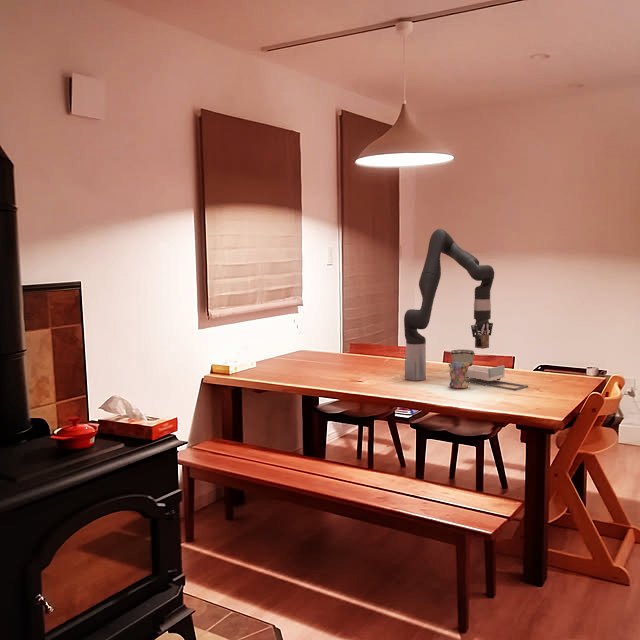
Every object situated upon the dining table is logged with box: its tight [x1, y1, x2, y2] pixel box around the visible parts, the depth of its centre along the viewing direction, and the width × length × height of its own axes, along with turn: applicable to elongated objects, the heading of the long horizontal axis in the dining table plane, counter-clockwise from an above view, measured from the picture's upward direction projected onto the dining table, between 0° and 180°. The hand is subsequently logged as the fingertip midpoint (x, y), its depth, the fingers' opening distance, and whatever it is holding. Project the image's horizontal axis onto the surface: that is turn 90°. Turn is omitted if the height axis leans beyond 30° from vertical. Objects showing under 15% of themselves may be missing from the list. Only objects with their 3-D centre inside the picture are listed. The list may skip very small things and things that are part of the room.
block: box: [474, 334, 490, 350], centre depth 295 cm, size 4×4×6 cm
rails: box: [467, 377, 529, 391], centre depth 293 cm, size 10×32×1 cm, turn 40°
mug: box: [447, 361, 470, 389], centre depth 285 cm, size 12×9×11 cm
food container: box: [449, 349, 476, 366], centre depth 328 cm, size 12×6×10 cm, turn 84°
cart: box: [467, 364, 506, 384], centre depth 296 cm, size 11×17×7 cm, turn 40°
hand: (481, 345), depth 295 cm, fingers closed on block, 4 cm apart
